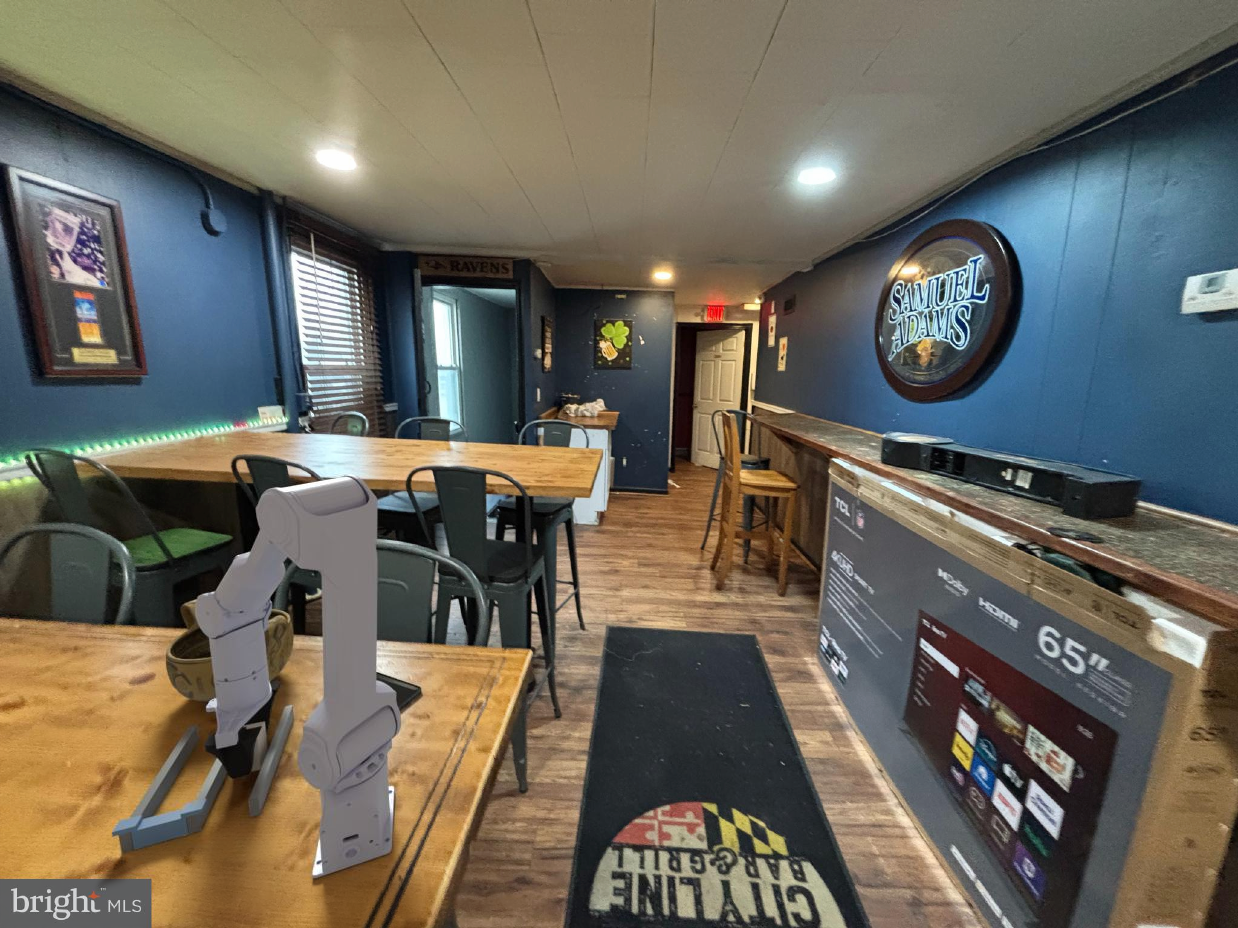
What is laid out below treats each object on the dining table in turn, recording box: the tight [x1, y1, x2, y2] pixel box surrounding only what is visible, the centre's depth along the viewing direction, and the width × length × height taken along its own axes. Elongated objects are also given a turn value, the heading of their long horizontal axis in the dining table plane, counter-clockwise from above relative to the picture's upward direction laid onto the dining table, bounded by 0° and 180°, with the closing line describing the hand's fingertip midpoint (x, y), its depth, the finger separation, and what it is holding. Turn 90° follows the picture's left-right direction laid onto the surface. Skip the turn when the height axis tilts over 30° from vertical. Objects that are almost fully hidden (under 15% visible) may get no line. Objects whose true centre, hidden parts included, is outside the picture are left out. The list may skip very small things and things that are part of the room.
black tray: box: [376, 671, 422, 712], centre depth 80 cm, size 8×1×15 cm
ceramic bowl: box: [165, 598, 295, 703], centre depth 79 cm, size 22×17×15 cm
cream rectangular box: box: [244, 721, 269, 772], centre depth 65 cm, size 4×3×5 cm
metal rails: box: [111, 704, 295, 854], centre depth 63 cm, size 18×14×3 cm
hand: (250, 753), depth 65 cm, fingers open, 7 cm apart
